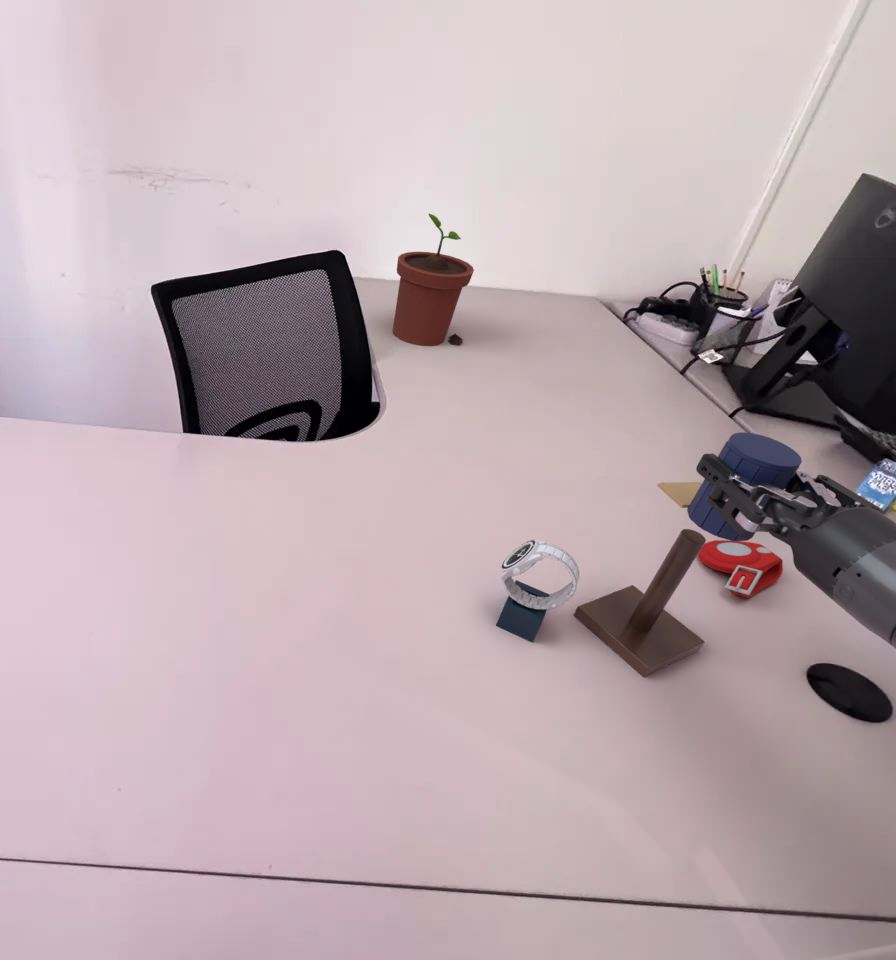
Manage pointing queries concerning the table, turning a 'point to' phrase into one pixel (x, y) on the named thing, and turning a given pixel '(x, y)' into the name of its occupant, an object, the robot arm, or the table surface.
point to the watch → (532, 589)
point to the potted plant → (429, 294)
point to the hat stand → (647, 614)
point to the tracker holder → (743, 565)
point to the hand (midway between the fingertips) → (731, 460)
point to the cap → (751, 461)
